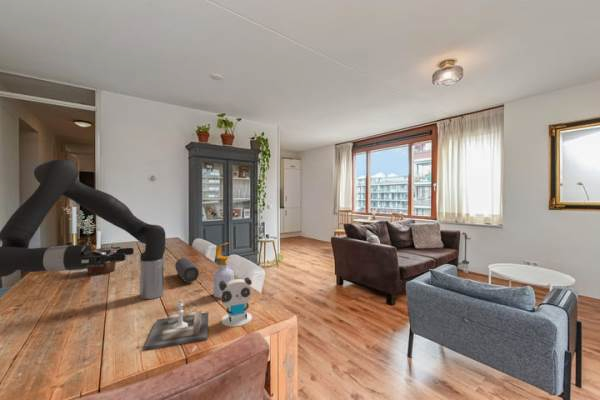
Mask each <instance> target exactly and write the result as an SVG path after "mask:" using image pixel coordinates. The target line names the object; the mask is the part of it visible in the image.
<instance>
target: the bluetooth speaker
mask: <svg viewBox="0 0 600 400" xmlns="http://www.w3.org/2000/svg"><path fill="white" fill-rule="evenodd" d="M174 267H175V271H176V273H177V275H178V276H179V277H180V278H181V279H182V280H183V281H184V282H186V283H193V282H195V281H196V280H197V279H198V277H199V275H200V273H199V272H200V271H199V269H198V267H197V266H196V264H195V263H193V262H192V261H191V260H190V259H189V258H186V257H181V258H178V260H177V261H176V262H175V264H174Z"/></svg>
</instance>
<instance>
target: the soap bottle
mask: <svg viewBox="0 0 600 400" xmlns="http://www.w3.org/2000/svg"><path fill="white" fill-rule="evenodd" d="M228 244H229V242H225V243H221V244H219V245H217V246H216V247H215V257H216V259H217V260H220V261H221V262H220V264H219V269H217V270H216V271H215V272H214V273H213V296H214V297H215V298H218V299H221V298H220V292H221V290H220V287H219V283H220V282H221V281H225V283H227V282H228V281H231V280H234V279H235V274H234V271H233V270H232V269H231V268H229V267H228V262H226V261H228V259H229V258H230V256H227V255H226V256H224V255H222V246H225V245H228Z"/></svg>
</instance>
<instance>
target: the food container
mask: <svg viewBox="0 0 600 400" xmlns="http://www.w3.org/2000/svg"><path fill="white" fill-rule="evenodd" d="M113 253H115V252H114V251H113ZM116 262H117V261H113V262H111V261H110V262H109V263H105V264H104V265H89V266H88V267H87V268H86V271H87V274H88V275H89V276H101V275H100V274H103V275H106V273H108V274H111V273H113V272H114V271H115V270H116ZM110 272H111V273H110Z"/></svg>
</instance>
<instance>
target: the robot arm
mask: <svg viewBox="0 0 600 400" xmlns="http://www.w3.org/2000/svg"><path fill="white" fill-rule="evenodd" d="M33 176H34V179H35V180H36V182H38V183H39V185H38V187H36V190H34V192H33V193H32V194H31V195H30V196H29V197H28V198H27V200H25V201H24V202H23V203H22V204H21V205H20V206H18V207H17V209H16V210H15V211H14V212H13V214H11V216H10V217H9V219H8V220H7V222H5V224H4V226H3V227H2V228H1V230H0V241H1V246H0V278H2V277H8V276H11V275H12V274H14V273H15V272H17V271H21V272H22V271H23V272H29V273H36V272H37V273H38V272H39V273H40V272H51V271H53V272H61V271H73V270H74V271H76V270H85V269H87V267H88V266H89V265H104V264H105V263H109V262H110V261H111V262H113V261H116V262H124V261H125V260H126V256H131V255H133V254H134V248H133V247H122V248H121V246H113V247H99V248H96V249H95V250H93V249H92V248H91V246H90V245H88V244H74V245H73V244H72V245H71V244H69V245H67V244H66V245H57V246H52V247H51V246H49V247H46V246H45V247H34V248H31V247H30V248H29V246H30V243H31V240H32V238H33V237H34V235H35V234H36V233H37V231H38V229H39V228H40V226H41V224H42V223H43V221H44V220H45V218H46V217H47V216H48V214H49V213H50V211H51V210H52V208H53V207H54V206H55V204H56V203H57V202H58V201H59V199H60V198H61V197H62V196H64V197H66V198H67V199H69V200H71V201H73V202H75V203H77V205H80V206H82V208H85V209H86V210H88V211H89V212H91V213H93V214H94V215H96V216H97V217H99V218H101V219H102V220H103V221H106V222H107V223H110V225H113V226H115V227H117V228H119V229H121V230H123V231H125V232H126V233H127V234H129V235H131V236H132V237H133V238H135V240H137V241H138V242H139V243H142V244H144V245H145V246H144V247H145V249H144V252H141V254H139V255H140V256H139V257H140V262H139V263H140V275H139V296H140V298H141V299H142V300H152V299H157V298H160V297H162V296H163V295H164V292H165V291H164V289H165V288H164V286H165V285H164V254H165V252H166V231H165V228H164V227H163V226H161V225H158V224H149V223H147V222H145V221H143V220H141V219H139V218H138V217H137V216H135V215H134V214H133V212H132V211H131V209H130V208H129V207H128V206H127V205H126V204H125V203H124V202H122V201H120V200H119V199H118V198H116V197H115V196H114V195H112V194H110V193H107V192H104V191H102V190H99V189H96V188H93V187H90V186H88V185H86V184H84V183H82V182H81V181H79V180H78V176H79V169H78V167H77V165H76V164H75V163H74V162H72V161H70V160H69V159H65V158H57V159H51V160H49V161H46V162H43V163H41V164H39V165H37V166H36V167H35V168H34V169H33ZM114 251H115V252H114ZM113 252H114V253H113Z"/></svg>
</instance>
